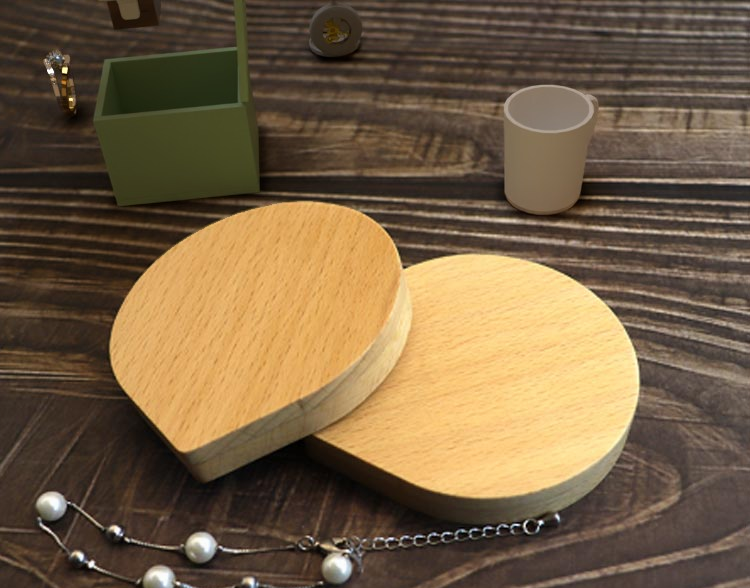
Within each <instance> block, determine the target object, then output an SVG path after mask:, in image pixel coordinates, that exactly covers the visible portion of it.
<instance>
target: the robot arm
mask: <svg viewBox="0 0 750 588" xmlns="http://www.w3.org/2000/svg"><path fill="white" fill-rule="evenodd" d="M97 1H98V2H107V1H115V0H97ZM116 1H117V3H118V5H119V9H120V13H121V16H122V18H123V19H125V20H130V19H137V18H139V17H140V10H141V8H140V4H139V0H116Z"/></svg>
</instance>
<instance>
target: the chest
mask: <svg viewBox="0 0 750 588" xmlns="http://www.w3.org/2000/svg"><path fill="white" fill-rule="evenodd" d="M248 91H249V101H248V102H241V98H240V84H239V70H238V56H237V46H229V47H219V48H210V49H209V48H208V49H198V50H188V51H187V50H186V51H178V52H167V53H156V54H146V55H137V56H126V57H125V56H124V57H114V58H105V59H104V60H103V65H102V71H101V76H100V82H99V87H98V92H97V96H96V97H97V98H96V104H95V109H94V113H93V119H92V123H93V126H94V129H95V132H96V136H97V139H98V143H99V146H100V149H101V154H102V157H103V161H104V162H105V163H104V164H105V167H106V170H107V173H108V178H109V180H110V183H111V188H112V190H113V195H114V197H115V200H116V205H117V207H125V206H136V205H137V206H138V205H147V204H157V203H166V202H176V201H186V200H197V199H206V198H216V197H227V196H235V195H236V196H237V195H245V194H257V193H260V192H261V191H260V189H261V187H260V184H261V183H260V147H259V146H260V144H259V143H260V142H259V141H260V140H259V139H260V137H259V125H258V119H257V112H256V105H255V100H254V92H253V87H252V81H251V75H250V69H249V67H248Z"/></svg>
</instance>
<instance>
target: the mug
mask: <svg viewBox="0 0 750 588" xmlns="http://www.w3.org/2000/svg"><path fill="white" fill-rule="evenodd" d="M599 108H600V105H599V101H598V98H597V97H595V96H594V95H592V94H590V93H587V94H584V93H582V92H580V91H579V90H577V89H575V88H572V87H568V86H563V85H557V84H538V85H531V86H527V87H524V88H521V89H519V90H517V91H515V92H513V93H512V94H511V95H510V96H508V97H507V98H506V100H505V102H504V103H503V165H504V166H503V167H504V168H503V169H504V170H503V172H504V173H503V175H504V177H503V178H504V180H503V181H504V182H503V183H504V184H503V185H504V195H505V198H506V200H507V201H508V202H509V204H510V205H511V206H512V207H513V208H516V209H517V210H519V211H521V212H525V213H527V214H529V215H537V216H549V215H556V214H560V213H563V212H565V211H567V210H569V209H570V208H572V207H573V206H574V205H575V204H576V203H577V202H578V201H579V199H580V196H581V191H582V185H583V179H584V175H585V168H586V162H587V156H588V151H589V145H590V142H591V140H592V137H593V134H594V131H595V128H596V124H597V121H598V116H599V110H600V109H599Z"/></svg>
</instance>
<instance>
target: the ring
mask: <svg viewBox="0 0 750 588" xmlns="http://www.w3.org/2000/svg"><path fill="white" fill-rule="evenodd" d="M70 61H71V57H70V55H69V54H68V53H65V54H63V52H62V50H60V49H58V48H57V49H55V50H52V51H51V52H49V53H48V54H47V55H46V58H44V59H43V64H44V66H45V69H46V70H47V73H48V76H49V78H50V82H51V85H52V88H53V91H54V96H55V99H56V102H57V105H58V107H59V109H60V111H61V113H62V115H63V116H64V117H67V118H68V117H74V116H75V115H77V114H78V109H77V108H78V97H77V96H78V95H77V88H76V87H77V86H76V82H75V76H74V73H73V69H72V66H71V63H70ZM53 66H54V67H55V70H56V69H58V70H59V72H60V73H61V88H60V84H59V81H58V79H57V75H56V73H55V70H54V68H53Z"/></svg>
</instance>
